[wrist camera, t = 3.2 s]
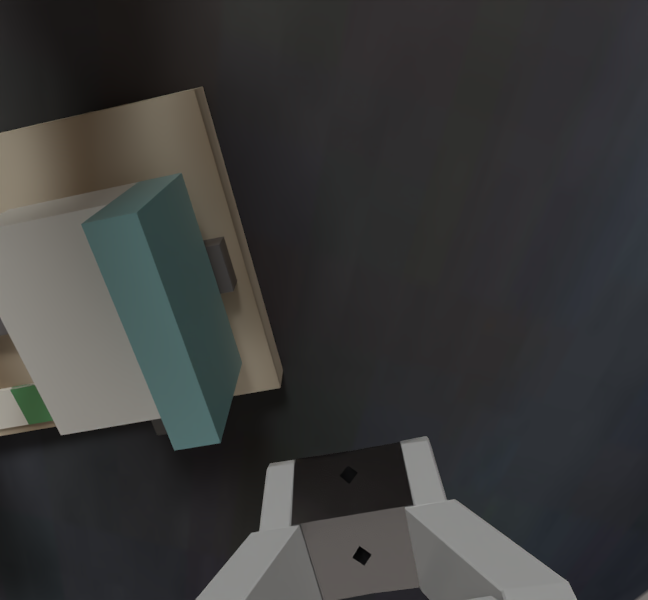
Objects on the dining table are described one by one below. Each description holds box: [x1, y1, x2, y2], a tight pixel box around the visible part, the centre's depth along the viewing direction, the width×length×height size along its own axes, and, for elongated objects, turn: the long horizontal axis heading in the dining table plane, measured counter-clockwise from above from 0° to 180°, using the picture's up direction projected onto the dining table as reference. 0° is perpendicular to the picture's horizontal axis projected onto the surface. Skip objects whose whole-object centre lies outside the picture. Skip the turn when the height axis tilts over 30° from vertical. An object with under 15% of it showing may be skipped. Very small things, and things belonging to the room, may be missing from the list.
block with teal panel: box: [0, 173, 242, 451], centre depth 19 cm, size 7×10×5 cm, turn 12°
